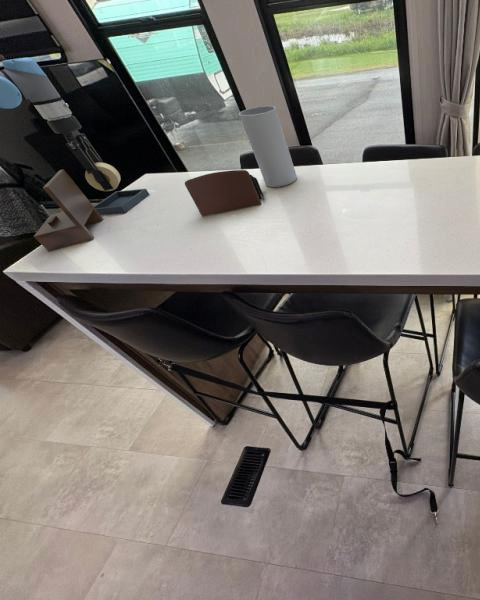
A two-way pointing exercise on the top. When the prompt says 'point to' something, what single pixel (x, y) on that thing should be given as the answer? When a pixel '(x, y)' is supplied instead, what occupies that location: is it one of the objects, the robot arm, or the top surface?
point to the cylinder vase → (269, 145)
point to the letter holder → (224, 191)
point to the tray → (121, 201)
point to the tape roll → (108, 172)
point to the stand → (67, 215)
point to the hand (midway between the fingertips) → (110, 186)
